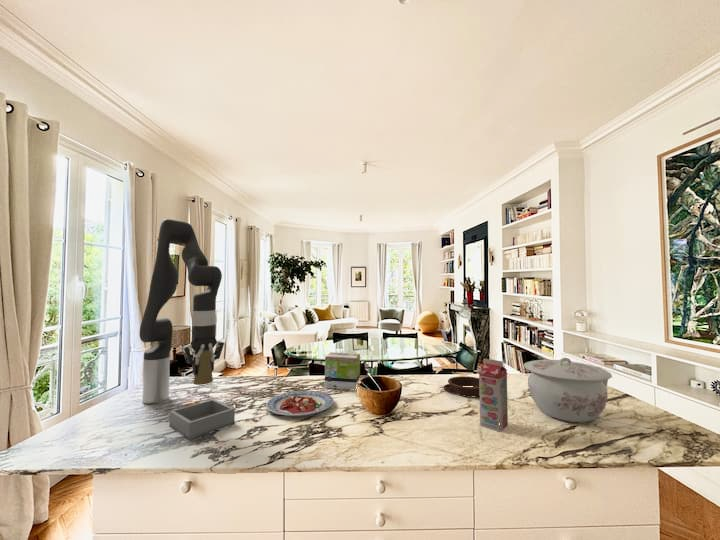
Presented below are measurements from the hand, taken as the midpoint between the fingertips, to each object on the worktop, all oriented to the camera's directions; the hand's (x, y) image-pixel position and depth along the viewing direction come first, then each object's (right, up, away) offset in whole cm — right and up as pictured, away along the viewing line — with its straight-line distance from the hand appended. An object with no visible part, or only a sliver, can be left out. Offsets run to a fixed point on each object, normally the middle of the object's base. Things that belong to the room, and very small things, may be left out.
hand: (203, 373), depth 111 cm
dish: (+102, -19, +32) cm, 109 cm away
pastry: (-10, -18, +9) cm, 22 cm away
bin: (0, -17, -1) cm, 17 cm away
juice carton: (+99, -17, -2) cm, 100 cm away
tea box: (+46, -19, +41) cm, 64 cm away
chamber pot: (+129, -18, +7) cm, 131 cm away
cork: (0, -3, 0) cm, 3 cm away
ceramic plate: (+30, -18, +16) cm, 39 cm away
